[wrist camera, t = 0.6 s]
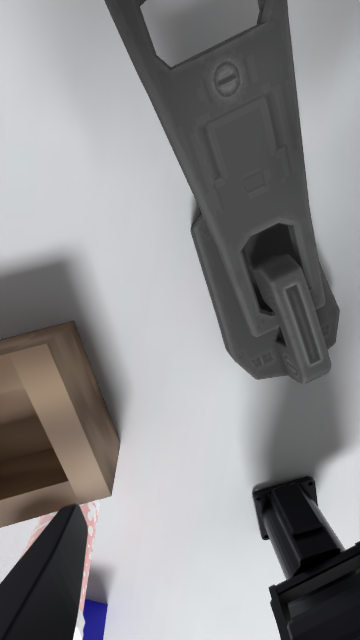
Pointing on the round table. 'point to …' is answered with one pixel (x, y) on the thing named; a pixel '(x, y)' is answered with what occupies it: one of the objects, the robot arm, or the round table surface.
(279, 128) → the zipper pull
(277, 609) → the robot arm
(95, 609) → the blue piece
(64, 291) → the round table surface
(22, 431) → the walnut well block
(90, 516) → the beverage cup
